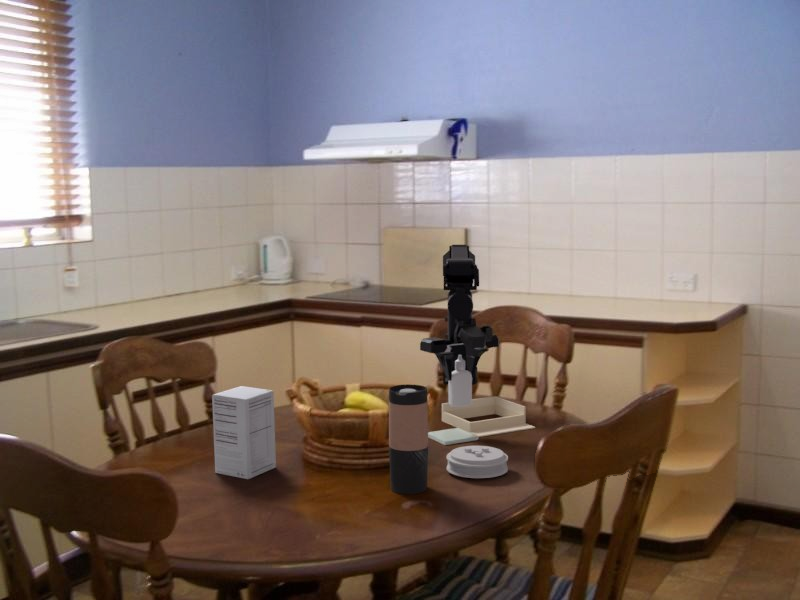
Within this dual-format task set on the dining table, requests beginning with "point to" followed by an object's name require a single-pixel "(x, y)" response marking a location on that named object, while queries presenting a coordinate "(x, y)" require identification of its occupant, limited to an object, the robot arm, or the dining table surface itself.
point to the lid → (477, 462)
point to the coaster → (452, 436)
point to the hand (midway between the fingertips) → (460, 379)
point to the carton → (508, 410)
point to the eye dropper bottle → (460, 385)
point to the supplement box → (244, 431)
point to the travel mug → (408, 438)
